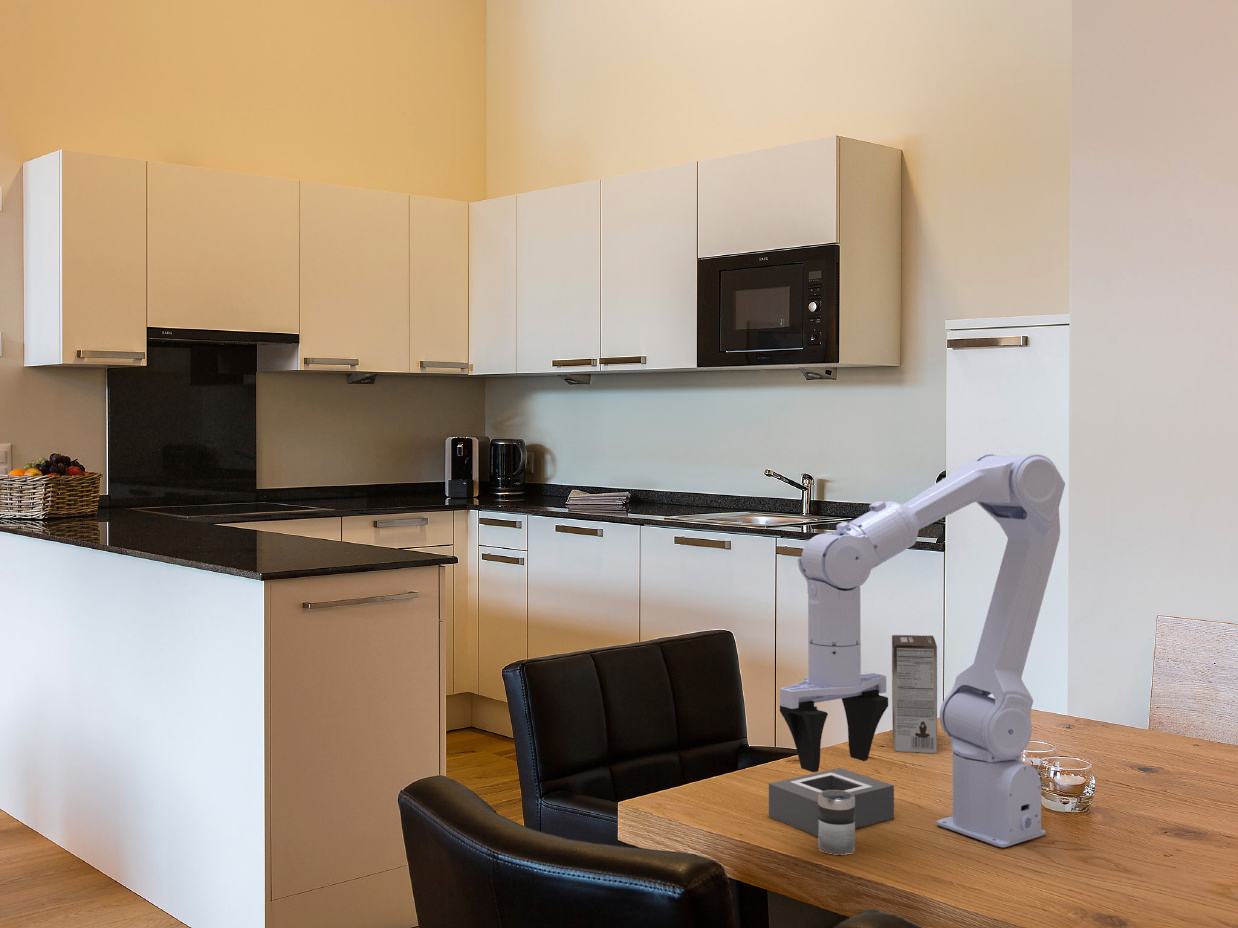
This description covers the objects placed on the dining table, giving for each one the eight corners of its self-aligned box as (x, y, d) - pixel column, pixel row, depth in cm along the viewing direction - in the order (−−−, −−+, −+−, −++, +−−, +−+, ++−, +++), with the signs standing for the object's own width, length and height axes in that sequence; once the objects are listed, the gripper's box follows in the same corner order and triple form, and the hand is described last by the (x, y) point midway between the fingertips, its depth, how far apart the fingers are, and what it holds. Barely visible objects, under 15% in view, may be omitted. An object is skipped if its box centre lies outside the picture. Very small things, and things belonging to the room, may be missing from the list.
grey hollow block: (894, 818, 130) (893, 784, 130) (821, 837, 124) (820, 802, 124) (840, 798, 138) (840, 767, 138) (768, 816, 131) (768, 782, 131)
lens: (863, 850, 120) (863, 796, 120) (836, 858, 117) (836, 802, 117) (836, 840, 123) (836, 786, 123) (810, 847, 121) (810, 793, 121)
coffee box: (891, 736, 169) (890, 633, 169) (933, 738, 167) (933, 634, 167) (894, 752, 160) (893, 643, 160) (939, 754, 158) (938, 644, 158)
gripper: (854, 631, 128) (854, 746, 128) (761, 643, 120) (761, 765, 120) (900, 639, 122) (900, 760, 122) (805, 652, 114) (805, 781, 114)
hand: (834, 764), depth 120 cm, fingers open, 7 cm apart
